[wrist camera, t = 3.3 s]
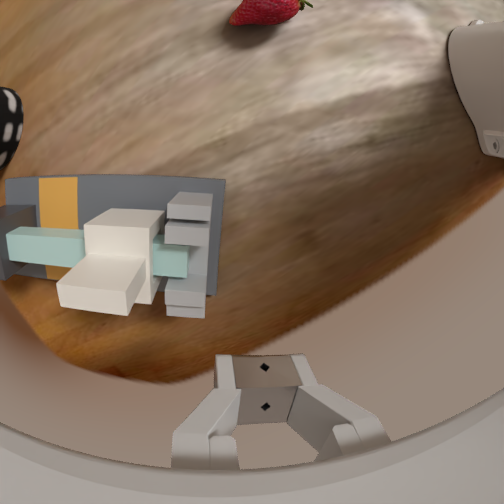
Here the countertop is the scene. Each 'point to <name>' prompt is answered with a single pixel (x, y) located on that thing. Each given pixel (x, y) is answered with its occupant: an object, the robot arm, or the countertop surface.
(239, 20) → the fruit
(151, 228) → the sleeve
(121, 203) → the board
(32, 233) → the pale teal rod
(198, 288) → the gray notched block
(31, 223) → the block
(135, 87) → the countertop surface
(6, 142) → the white-spotted black cylinder
